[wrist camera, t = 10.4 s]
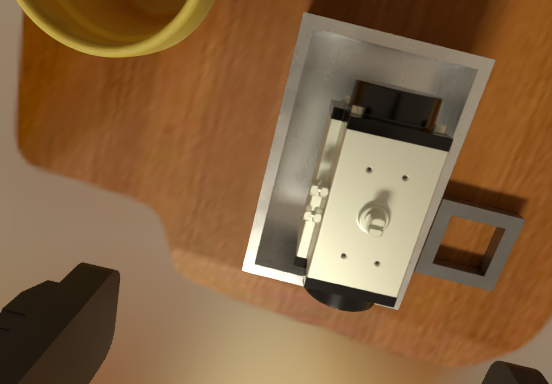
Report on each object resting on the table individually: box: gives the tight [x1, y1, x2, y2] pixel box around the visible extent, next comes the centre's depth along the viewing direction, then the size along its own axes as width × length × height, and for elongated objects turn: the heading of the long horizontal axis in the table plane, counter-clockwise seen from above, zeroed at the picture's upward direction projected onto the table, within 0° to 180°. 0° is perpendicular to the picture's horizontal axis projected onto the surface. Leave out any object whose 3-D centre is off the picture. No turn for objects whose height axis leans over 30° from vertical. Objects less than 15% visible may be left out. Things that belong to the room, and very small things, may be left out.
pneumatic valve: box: [294, 78, 454, 312], centre depth 25 cm, size 6×12×12 cm, turn 168°
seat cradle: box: [242, 12, 495, 310], centre depth 29 cm, size 17×11×5 cm, turn 167°
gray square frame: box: [414, 195, 525, 291], centre depth 32 cm, size 6×6×1 cm
